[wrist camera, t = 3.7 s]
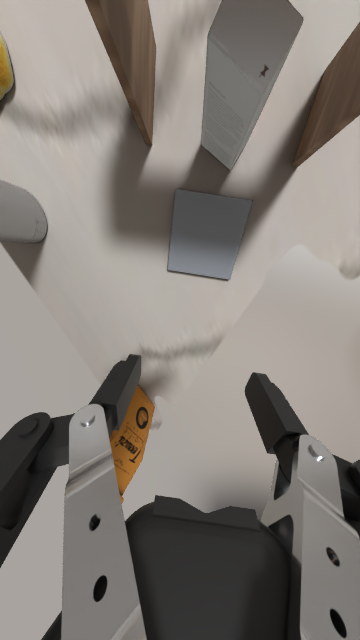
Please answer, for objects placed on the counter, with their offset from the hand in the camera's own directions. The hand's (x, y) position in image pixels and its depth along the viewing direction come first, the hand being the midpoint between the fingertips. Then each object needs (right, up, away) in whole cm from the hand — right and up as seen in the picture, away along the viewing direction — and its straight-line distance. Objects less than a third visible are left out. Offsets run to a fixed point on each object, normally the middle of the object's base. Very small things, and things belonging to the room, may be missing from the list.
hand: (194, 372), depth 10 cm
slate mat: (+4, +19, +17) cm, 26 cm away
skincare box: (+6, +31, +12) cm, 33 cm away
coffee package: (-15, -22, +37) cm, 46 cm away
